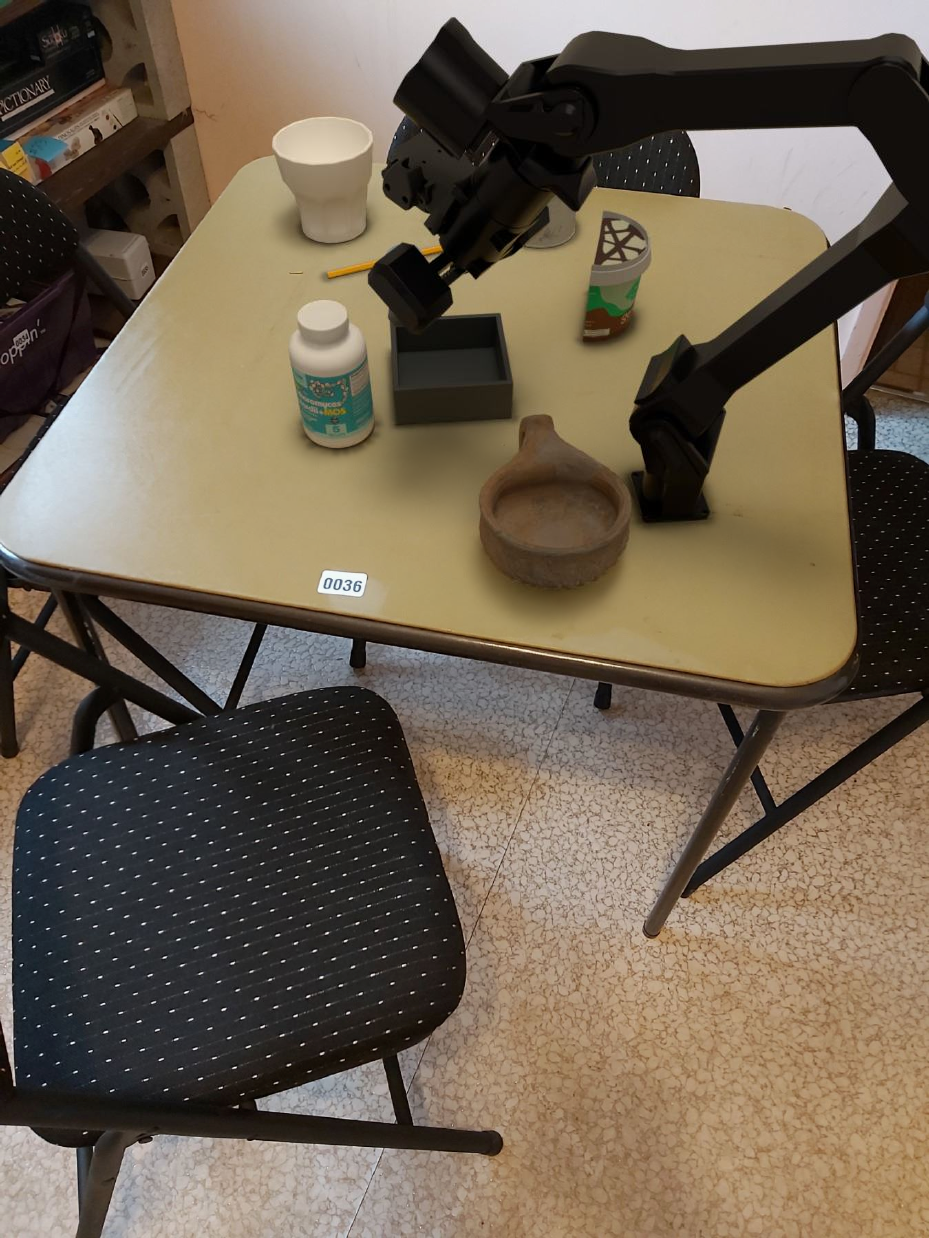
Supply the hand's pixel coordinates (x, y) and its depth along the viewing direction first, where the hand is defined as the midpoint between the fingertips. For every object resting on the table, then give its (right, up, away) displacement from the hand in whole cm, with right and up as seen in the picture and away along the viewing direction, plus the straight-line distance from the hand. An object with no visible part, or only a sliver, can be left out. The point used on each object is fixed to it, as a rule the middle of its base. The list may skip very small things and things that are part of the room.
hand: (423, 296), depth 78 cm
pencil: (-5, +15, +28) cm, 33 cm away
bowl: (+11, -23, +1) cm, 25 cm away
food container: (+21, +5, +21) cm, 30 cm away
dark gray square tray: (+2, -4, +14) cm, 14 cm away
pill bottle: (-9, -10, +10) cm, 17 cm away
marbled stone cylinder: (+14, +21, +33) cm, 41 cm away
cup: (-14, +22, +33) cm, 42 cm away
